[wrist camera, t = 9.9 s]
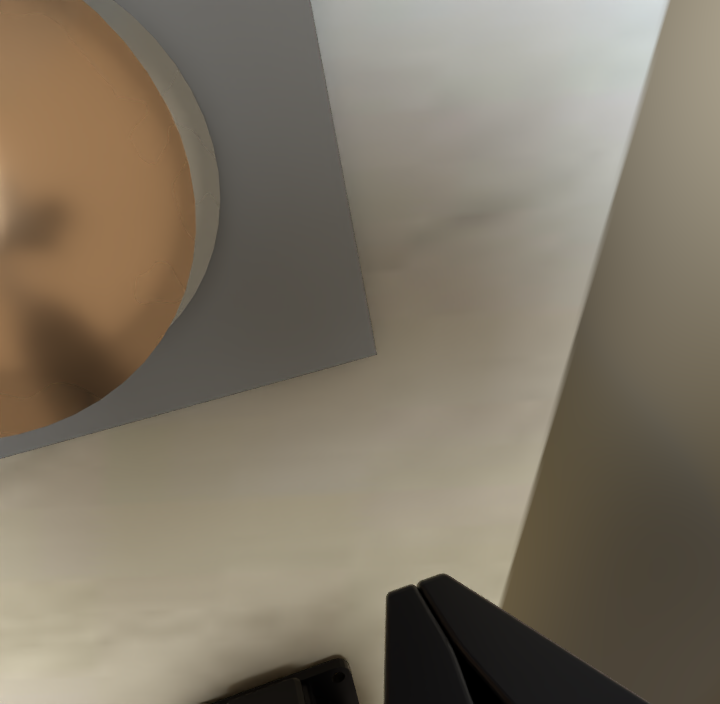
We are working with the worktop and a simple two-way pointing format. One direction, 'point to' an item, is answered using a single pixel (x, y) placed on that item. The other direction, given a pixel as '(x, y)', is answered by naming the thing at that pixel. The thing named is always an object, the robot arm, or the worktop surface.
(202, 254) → the white disc
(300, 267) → the mat
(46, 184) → the door handle
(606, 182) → the worktop surface
